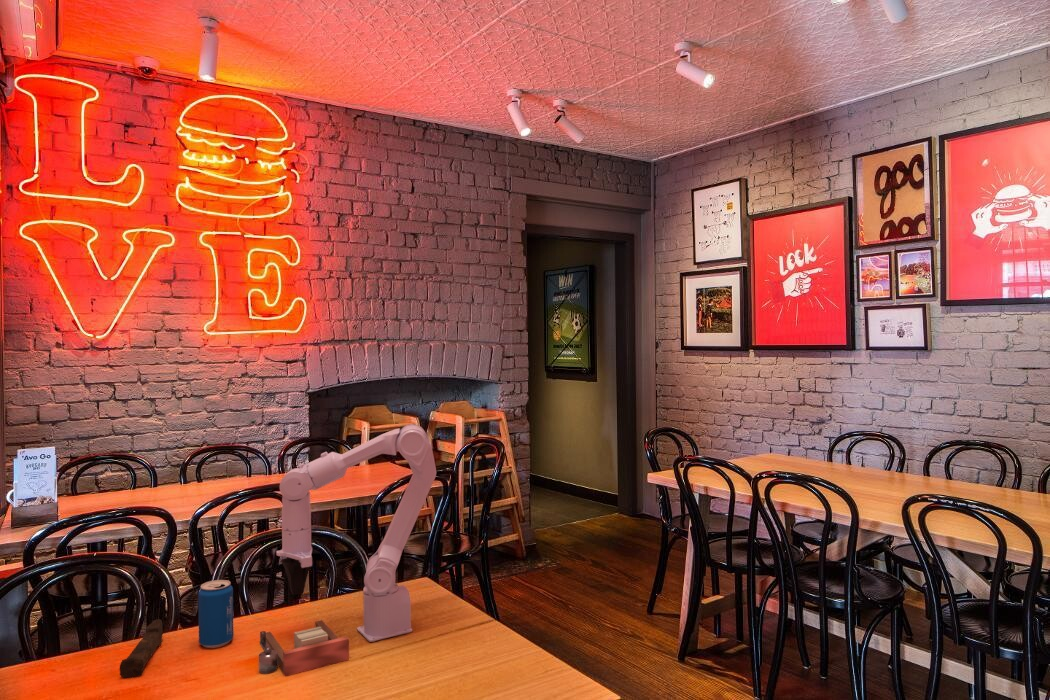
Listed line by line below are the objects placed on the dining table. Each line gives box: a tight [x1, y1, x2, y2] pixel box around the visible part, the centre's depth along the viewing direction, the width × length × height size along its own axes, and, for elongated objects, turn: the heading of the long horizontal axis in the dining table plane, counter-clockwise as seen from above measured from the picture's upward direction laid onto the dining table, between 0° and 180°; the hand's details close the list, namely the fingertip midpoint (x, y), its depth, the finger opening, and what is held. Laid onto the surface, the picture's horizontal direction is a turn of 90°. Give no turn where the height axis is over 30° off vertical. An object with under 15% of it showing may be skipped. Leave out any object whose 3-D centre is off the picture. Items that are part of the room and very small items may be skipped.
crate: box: [293, 627, 328, 649], centre depth 135 cm, size 5×5×5 cm
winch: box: [258, 630, 278, 675], centre depth 132 cm, size 3×6×6 cm, turn 33°
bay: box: [266, 619, 350, 677], centre depth 138 cm, size 12×17×4 cm
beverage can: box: [197, 579, 234, 649], centre depth 143 cm, size 6×6×12 cm
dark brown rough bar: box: [119, 618, 164, 679], centre depth 137 cm, size 19×4×5 cm, turn 11°
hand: (297, 593), depth 144 cm, fingers closed
